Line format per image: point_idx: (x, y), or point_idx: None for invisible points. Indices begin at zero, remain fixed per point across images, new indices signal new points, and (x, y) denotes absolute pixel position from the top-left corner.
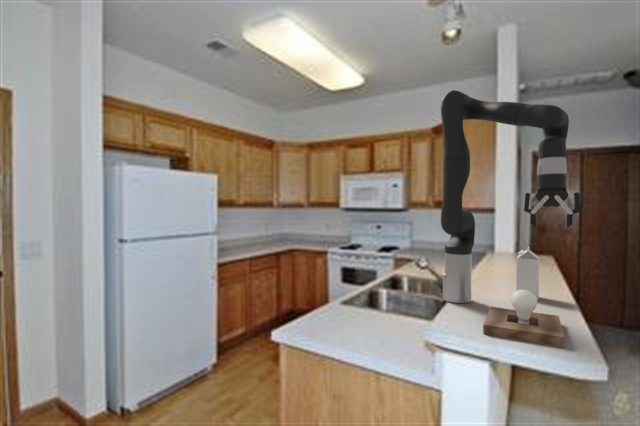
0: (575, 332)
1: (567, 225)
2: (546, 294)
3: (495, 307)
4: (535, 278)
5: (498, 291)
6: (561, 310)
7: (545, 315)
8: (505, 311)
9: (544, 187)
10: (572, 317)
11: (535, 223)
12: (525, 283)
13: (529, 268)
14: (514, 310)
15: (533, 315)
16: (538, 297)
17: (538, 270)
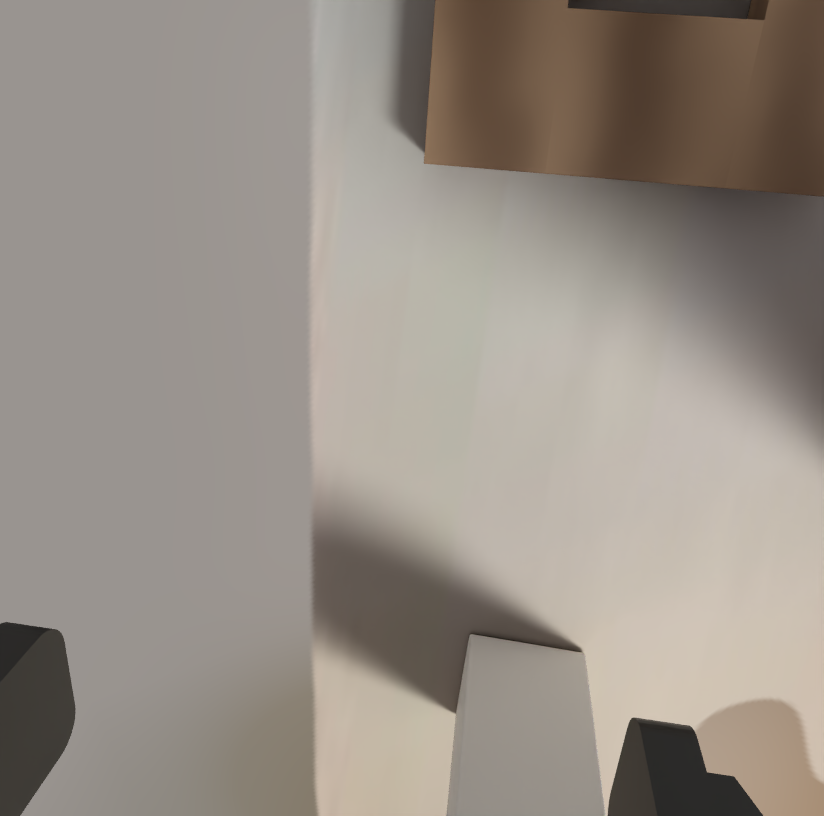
0: (360, 15)
1: (21, 638)
2: (408, 774)
3: (819, 193)
4: (479, 741)
5: None
6: (375, 477)
7: (505, 124)
8: (766, 103)
9: None
10: (337, 352)
11: (654, 765)
12: (539, 718)
13: (517, 808)
14: (693, 167)
15: (584, 83)
16: (463, 673)
17: (458, 790)
